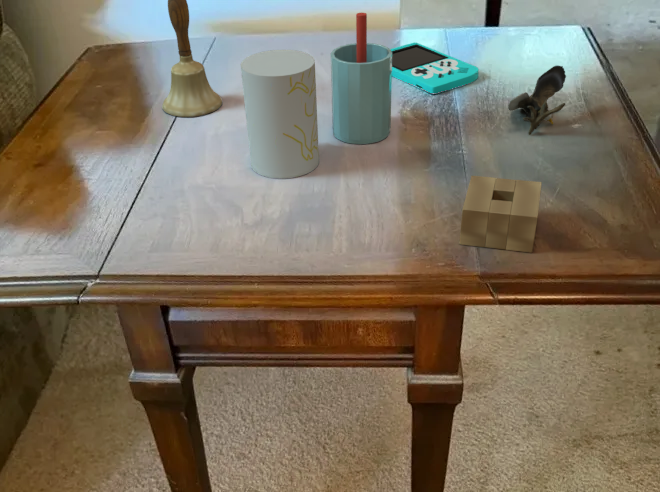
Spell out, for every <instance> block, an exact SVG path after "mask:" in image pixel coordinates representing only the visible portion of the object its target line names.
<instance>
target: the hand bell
mask: <svg viewBox="0 0 660 492" xmlns="http://www.w3.org/2000/svg"><path fill="white" fill-rule="evenodd" d="M189 10H190V9H189V5H188V1H187V0H167V12H168V16H169V21H170V24H171V25H172V28H173V30H174V32H175V36H176V41H177V42H176V43H177V50H178V51H177V52H178V57H179V61H178V62H176V63H175V64H174V65H172V66H171V68H170V88H169V92H168V95H167V96H166V97H165V98H164V100H163V102H162V107H161V108H162V110H163V112H164V113H166V114H168V115H171V116H173V117H178V118H179V117H180V118H194V117H196V118H197V117H200V116H201V117H202V116H206V115H208V114H212V113H213V112H216V111H217V110H219V109H220V108H221V106H222V104H223V99H222V97H221V96H220V94H219V93H217V92H216V91H215V90H214V89H213V88H212V86H211V85H210V83H209V80H208V77H207V74H206V70H205V69H206V68H205V66H204V65H203V63H202V62H199V61H197V60H194V57H193V54H192V48H191V43H190V37H189V28H190V11H189Z"/></svg>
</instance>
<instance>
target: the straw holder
mask: <svg viewBox="0 0 660 492" xmlns="http://www.w3.org/2000/svg"><path fill="white" fill-rule="evenodd" d="M542 186H543V185H542V181H533V180H522V179H510V178H499V177H492V176H491V177H490V176H480V175H471V176H470V180H469V184H468V187H467V190H466V195H465V199H464V202H463V204H462V205H463V206H462V209H461V222H460V231H459V243H458V245H462V246H470V247H479V248H488V249H489V248H490V249H497V250H506V251H513V252H514V251H515V252H522V253H531V254H532V253H533V249H534V242H535V236H536V231H537V226H538V225H537V224H538V219H539V210H540V201H541V193H542Z"/></svg>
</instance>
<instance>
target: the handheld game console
mask: <svg viewBox="0 0 660 492" xmlns="http://www.w3.org/2000/svg"><path fill="white" fill-rule="evenodd" d="M389 49H390V50H391V52H392V78H395V79H397V80H399V79H400V81H401V80H402V81H401V82H403V81H404V83H406V82H407V83H406V84H408V83H410V84H413V85H415V86H417V87H419V88H422V89H424V90H426V91H428V92H430V93H438V92H441V91H445V90H448V91H451V90H450V89H452V88H455V87H458V86H461V87H463V86H462V85H464V86H466V85H465V84H467V85H469V84H468V83H470V84H472V83H474V82H476V80H477V79H478V78H479V72H480V71H479V70H480V69H479V67H477V66H475V65H473V64H471V63H468V62H466V61H463V60H461V59H458V58H456V57H454V56H451V55H449V54H446V53H443V52H441V51H438V50H436V49H434V48H431V47H429V46H426V45H423V44H421V43H420V42H416V41H414V42H410V43H406V44H402V45H399V46H396V47H391V48H389ZM471 82H472V83H471ZM410 84H409V85H410ZM458 88H459V87H458ZM455 89H456V88H455ZM452 90H453V89H452ZM445 92H446V91H445Z"/></svg>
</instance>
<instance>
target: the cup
mask: <svg viewBox="0 0 660 492" xmlns="http://www.w3.org/2000/svg"><path fill="white" fill-rule="evenodd" d="M240 73H241V82H242V90H243V93H242V94H243V101H244V111H245V120H246V132H247V140H248V148H249V149H248V150H249V159H250V167H251V169H252V170H253V172H255V173H256V174H258V175H259V176H262V177H266V178H269V179H279V180H281V179H282V180H283V179H292V178H293V179H294V178H298V177H302V176H305V175H307V174H309V173H311V172H313V171H314V170H316V168H317V167H318V166H319V164H320V153H319V152H320V151H319V130H318V129H319V128H318V125H319V124H318V106H317V105H318V103H317V82H316V80H317V79H316V78H317V77H316V59H315V58H314V56H313V55H311V54H310V53H307V52H304V51H302V50H295V49H272V50H265V51H261V52H256V53H253V54H250V55H248V56H246V57H245V58H244V59H243V60H242V61H241V62H240Z"/></svg>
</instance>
